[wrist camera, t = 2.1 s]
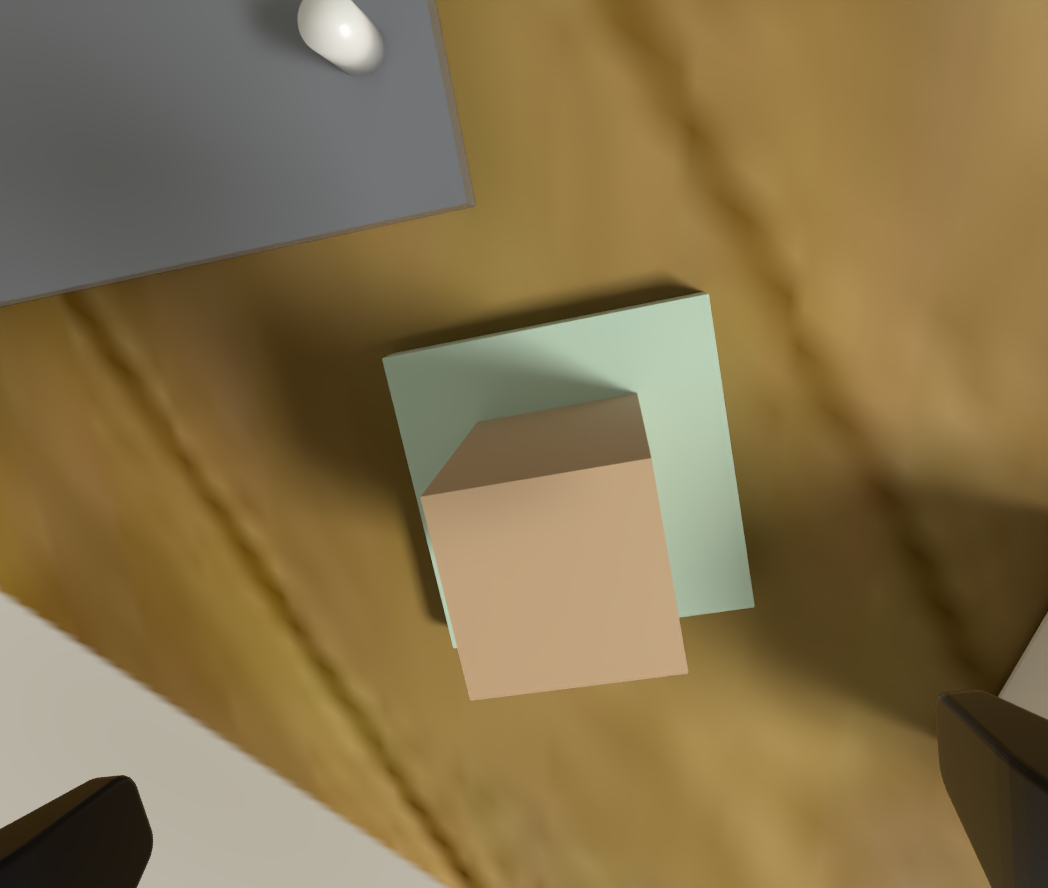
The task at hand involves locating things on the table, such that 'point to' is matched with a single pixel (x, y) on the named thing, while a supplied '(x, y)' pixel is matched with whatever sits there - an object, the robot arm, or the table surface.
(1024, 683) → the medicine bottle
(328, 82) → the standoff plate
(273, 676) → the table surface
